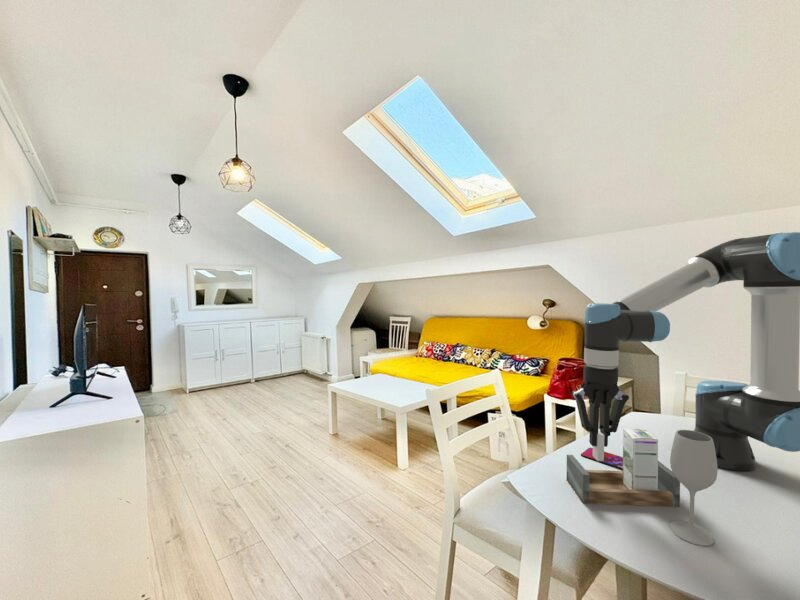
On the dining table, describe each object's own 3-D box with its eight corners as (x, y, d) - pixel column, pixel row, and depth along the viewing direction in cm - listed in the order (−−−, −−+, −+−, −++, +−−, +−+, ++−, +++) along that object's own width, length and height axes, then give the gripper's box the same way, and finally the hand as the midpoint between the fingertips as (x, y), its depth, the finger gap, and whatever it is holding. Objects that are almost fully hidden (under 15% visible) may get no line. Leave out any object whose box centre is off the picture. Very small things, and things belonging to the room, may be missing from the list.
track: (652, 483, 94) (653, 457, 94) (679, 506, 84) (680, 477, 84) (566, 480, 96) (566, 454, 95) (582, 503, 86) (583, 474, 85)
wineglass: (659, 522, 78) (661, 428, 77) (691, 520, 79) (694, 427, 78) (690, 548, 71) (693, 444, 70) (725, 545, 71) (729, 442, 71)
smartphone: (589, 446, 114) (644, 463, 103) (589, 449, 114) (644, 466, 103) (579, 454, 109) (636, 473, 98) (579, 457, 109) (636, 476, 98)
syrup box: (658, 498, 85) (660, 439, 85) (632, 496, 86) (633, 437, 86) (646, 485, 91) (647, 429, 90) (621, 483, 92) (622, 428, 91)
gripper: (620, 362, 92) (617, 452, 93) (567, 361, 93) (565, 450, 94) (637, 369, 84) (633, 467, 85) (580, 368, 85) (577, 464, 86)
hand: (598, 458), depth 90 cm, fingers closed
